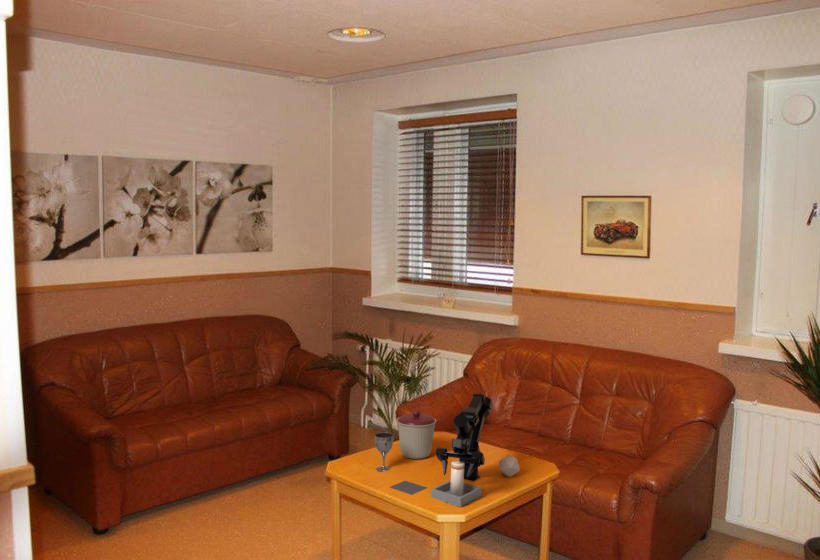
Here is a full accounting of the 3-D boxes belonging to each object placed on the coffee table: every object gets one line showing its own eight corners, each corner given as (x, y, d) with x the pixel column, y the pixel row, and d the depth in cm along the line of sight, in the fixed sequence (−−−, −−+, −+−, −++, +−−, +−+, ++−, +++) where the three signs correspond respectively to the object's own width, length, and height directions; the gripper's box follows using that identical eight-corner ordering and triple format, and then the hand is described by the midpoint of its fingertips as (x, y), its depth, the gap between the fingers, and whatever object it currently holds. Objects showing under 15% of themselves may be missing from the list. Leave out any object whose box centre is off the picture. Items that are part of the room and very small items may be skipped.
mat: (404, 481, 300) (404, 480, 300) (427, 488, 292) (427, 487, 292) (388, 487, 292) (388, 487, 292) (412, 495, 285) (412, 494, 285)
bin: (452, 487, 293) (452, 479, 293) (481, 496, 284) (481, 487, 284) (430, 497, 282) (431, 489, 282) (460, 507, 274) (460, 498, 273)
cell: (448, 493, 286) (450, 459, 284) (461, 493, 286) (463, 459, 285) (451, 498, 281) (452, 463, 279) (464, 498, 281) (465, 463, 280)
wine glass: (389, 473, 309) (389, 438, 308) (371, 471, 311) (372, 436, 310) (395, 467, 316) (396, 433, 315) (378, 465, 319) (378, 431, 318)
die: (523, 478, 307) (521, 455, 312) (513, 472, 301) (512, 450, 306) (506, 481, 311) (505, 459, 316) (496, 476, 305) (495, 453, 310)
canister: (387, 454, 333) (388, 409, 331) (417, 446, 345) (417, 402, 343) (414, 465, 319) (415, 417, 318) (444, 456, 332) (444, 410, 330)
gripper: (437, 427, 288) (428, 463, 278) (483, 432, 282) (476, 469, 272) (442, 441, 296) (434, 476, 287) (487, 446, 290) (480, 482, 281)
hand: (455, 476), depth 281 cm, fingers open, 9 cm apart
